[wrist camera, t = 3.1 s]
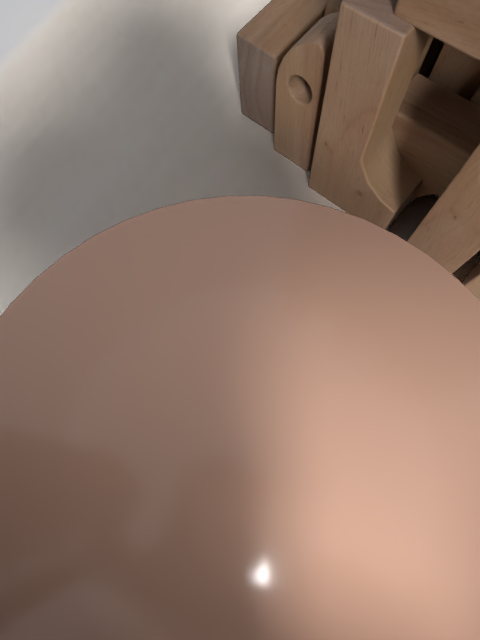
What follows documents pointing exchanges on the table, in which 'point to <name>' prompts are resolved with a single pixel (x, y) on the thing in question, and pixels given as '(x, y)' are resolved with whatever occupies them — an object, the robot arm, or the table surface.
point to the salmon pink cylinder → (241, 434)
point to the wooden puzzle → (376, 109)
